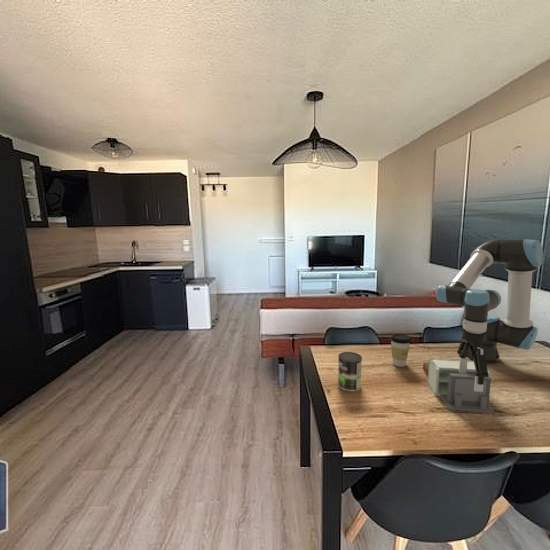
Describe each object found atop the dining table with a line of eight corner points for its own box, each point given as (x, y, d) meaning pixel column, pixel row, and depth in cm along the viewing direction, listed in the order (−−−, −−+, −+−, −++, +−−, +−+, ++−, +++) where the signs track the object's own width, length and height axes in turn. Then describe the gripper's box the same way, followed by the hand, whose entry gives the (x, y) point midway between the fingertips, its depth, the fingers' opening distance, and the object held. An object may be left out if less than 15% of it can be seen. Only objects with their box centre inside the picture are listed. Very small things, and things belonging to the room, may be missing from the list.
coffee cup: (412, 368, 153) (414, 340, 151) (393, 368, 153) (394, 340, 151) (405, 359, 163) (406, 332, 160) (386, 359, 163) (387, 333, 161)
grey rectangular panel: (484, 403, 121) (487, 375, 119) (488, 407, 119) (491, 378, 117) (446, 400, 124) (449, 373, 122) (449, 404, 121) (451, 376, 119)
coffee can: (346, 393, 132) (347, 363, 129) (333, 382, 141) (333, 354, 139) (366, 388, 136) (367, 358, 133) (352, 378, 145) (352, 350, 143)
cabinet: (475, 386, 135) (478, 361, 133) (499, 413, 116) (503, 384, 114) (427, 383, 138) (429, 358, 136) (443, 409, 119) (445, 381, 117)
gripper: (450, 319, 129) (447, 366, 132) (479, 343, 104) (474, 399, 108) (470, 319, 127) (466, 366, 131) (503, 343, 103) (497, 400, 107)
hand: (470, 381), depth 120 cm, fingers open, 13 cm apart
